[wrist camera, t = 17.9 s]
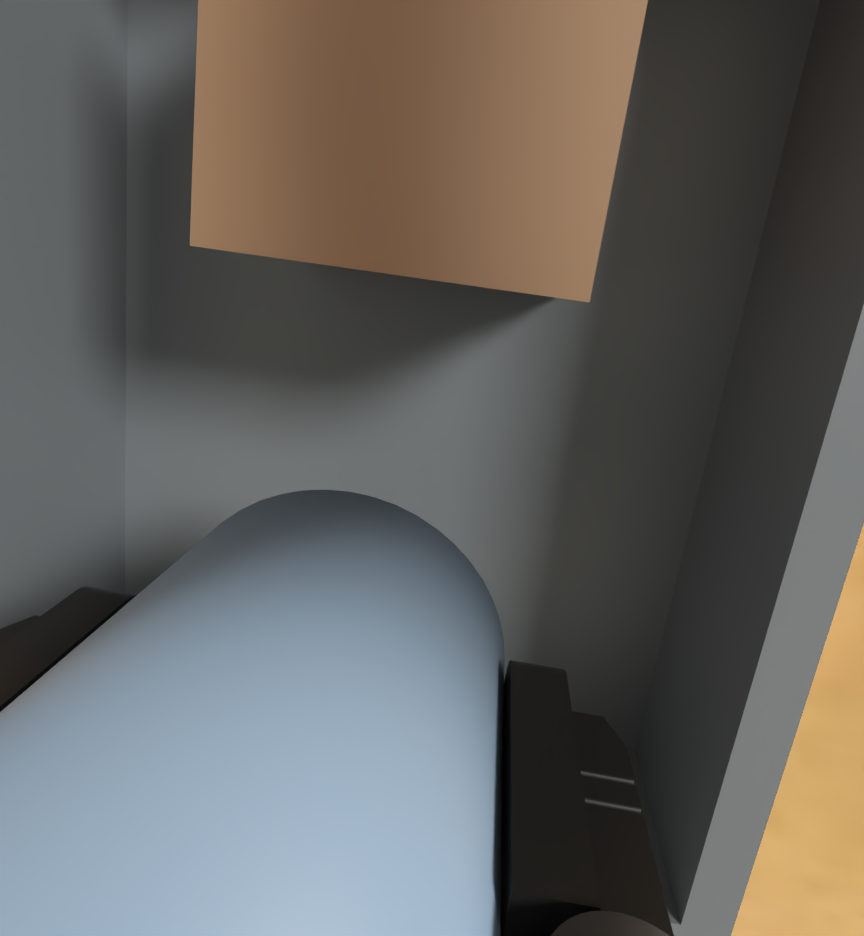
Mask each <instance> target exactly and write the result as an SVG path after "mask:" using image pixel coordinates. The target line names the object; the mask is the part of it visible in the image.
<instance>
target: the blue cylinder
mask: <svg viewBox="0 0 864 936" xmlns="http://www.w3.org/2000/svg"><path fill="white" fill-rule="evenodd" d="M504 680H505V654H504V639H503V633H502V628H501V623H500V619H499V616H498V613H497V610H496V607H495V604H494V601H493V599H492V597H491V595H490V593H489V591H488V589H487V587H486V585H485V583H484V581H483V579H482V578H481V576H480V575H479V574H478V572H477V571H476V569H475V568H474V566H473V565H472V563H471V562H470V561H469V560H468V558H467V557H466V556H465V555H464V554H463V553H462V552H461V551H460V549H459V548H458V547H457V546H456V545H455V544H454V543H453V542H452V541H450V540H449V539H448V538H447V537H446V536H445V535H444V534H442V533H441V532H440V531H439V530H438V529H436V528H435V527H433V526H432V525H430V524H429V523H427V522H426V521H424V520H423V519H422V518H420V517H419V516H417V515H415V514H413V513H411V512H409V511H407V510H405V509H403V508H401V507H399V506H397V505H395V504H392V503H389V502H386V501H383V500H381V499H378V498H375V497H372V496H367V495H363V494H358V493H354V492H348V491H337V490H303V491H297V492H291V493H285V494H280V495H277V496H273V497H270V498H267V499H264V500H260V501H258V502H256V503H254V504H252V505H250V506H248V507H246V508H243V509H241V510H240V511H238V512H237V513H235V514H234V515H232V516H230V517H229V518H227V519H226V520H224V521H223V522H222V523H221V524H219V525H218V526H217V527H216V528H215V529H214V530H212V531H211V532H210V533H209V534H208V535H207V536H205V537H204V538H203V539H202V540H201V541H200V542H198V543H197V544H196V545H195V546H194V547H193V548H191V549H190V550H189V551H188V552H187V553H186V554H184V555H183V556H182V557H181V558H180V559H179V560H177V561H176V562H175V563H174V564H173V565H172V566H170V567H169V568H168V569H167V570H166V571H165V572H163V573H162V574H161V575H160V576H159V577H158V578H156V579H155V580H154V581H153V582H152V583H151V584H149V585H148V586H147V587H146V588H145V589H144V590H142V591H141V592H140V593H139V594H138V595H137V596H135V597H134V598H133V599H132V600H131V601H130V602H128V603H127V604H126V605H125V606H124V607H122V608H121V609H120V610H119V611H118V612H117V613H115V614H114V615H113V616H112V617H111V618H110V619H108V620H107V621H106V622H105V623H104V624H103V625H101V626H100V627H99V628H98V629H97V630H96V631H94V632H93V633H92V634H91V635H90V636H89V637H87V638H86V639H85V640H84V641H83V642H82V643H80V644H79V645H78V646H77V647H76V648H75V649H73V650H72V651H71V652H70V653H69V654H68V655H66V656H65V657H64V658H63V659H62V660H61V661H59V662H58V663H57V664H56V665H55V666H54V667H52V668H51V669H50V670H49V671H48V672H47V673H45V674H44V675H43V676H42V677H41V678H40V679H38V680H37V681H36V682H35V683H34V684H33V685H31V686H30V687H29V688H28V689H27V690H25V691H24V692H23V693H22V694H21V695H20V696H18V697H17V698H16V699H15V700H14V701H13V702H11V703H10V704H9V705H8V706H7V707H6V708H4V709H3V710H2V711H1V712H0V936H501V876H502V795H503V714H504Z"/></svg>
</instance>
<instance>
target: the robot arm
mask: <svg viewBox="0 0 864 936" xmlns="http://www.w3.org/2000/svg"><path fill="white" fill-rule="evenodd" d="M135 596H137V595H135V594H129V593H123V592H118V591H112V590H106V589H100V588H94V587H89V586H84V587H81V588H79V589H78V590H76V591H75V592H73V593H72V594H70V595H69V596H68V597H66V598H65V599H64V600H62V601H61V602H59V603H58V604H57V605H55V606H54V607H52V608H51V609H50V610H48V611H47V612H46V613H44V614H43V615H41V616H36V615H35V616H32V617H29V618H27V619H24V620H22V621H19V622H17V623H14V624H11V625H9V626H6V627H4V628H1V629H0V712H1V711H2V710H3V709H4V708H6V707H7V706H8V705H9V704H10V703H11V702H13V701H14V700H15V699H16V698H17V697H18V696H20V695H21V694H22V693H23V692H24V691H25V690H27V689H28V688H29V687H30V686H31V685H33V684H34V683H35V682H36V681H37V680H38V679H40V678H41V677H42V676H43V675H44V674H45V673H47V672H48V671H49V670H50V669H51V668H52V667H54V666H55V665H56V664H57V663H58V662H59V661H61V660H62V659H63V658H64V657H65V656H66V655H68V654H69V653H70V652H71V651H72V650H73V649H75V648H76V647H77V646H78V645H79V644H80V643H82V642H83V641H84V640H85V639H86V638H87V637H89V636H90V635H91V634H92V633H93V632H94V631H96V630H97V629H98V628H99V627H100V626H101V625H103V624H104V623H105V622H106V621H107V620H108V619H110V618H111V617H112V616H113V615H114V614H115V613H117V612H118V611H119V610H120V609H121V608H122V607H124V606H125V605H126V604H127V603H128V602H130V601H131V600H132V599H133V598H134V597H135ZM634 780H635V779H634V775H633V771H632V767H631V763H630V759H629V755H628V751H627V747H626V745H625V744H624V743H623V742H622V740H621V739H620V738H619V736H618V735H617V734H616V733H615V731H614V730H613V729H612V728H611V726H610V725H609V724H608V722H607V721H606V720H605V719H604V717H603V716H597V715H591V714H586V713H580V712H575V711H572V708H571V701H570V694H569V687H568V680H567V674H566V671H565V670H564V669H559V668H553V667H547V666H541V665H535V664H530V663H524V662H518V661H512V660H509V663H508V666H507V670H506V675H505V680H504V714H503V795H502V876H501V936H674V934H673V931H672V927H671V923H670V919H669V915H668V911H667V907H666V903H665V899H664V895H663V891H662V887H661V883H660V879H659V875H658V871H657V867H656V863H655V859H654V855H653V851H652V847H651V843H650V839H649V835H648V831H647V827H646V823H645V819H644V815H641V808H642V807H641V803H640V799H639V795H638V791H637V787H636V786H634Z"/></svg>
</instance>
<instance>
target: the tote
mask: <svg viewBox="0 0 864 936" xmlns="http://www.w3.org/2000/svg"><path fill="white" fill-rule="evenodd" d="M197 23H198V0H0V629H1V628H4V627H6V626H9V625H11V624H14V623H17V622H19V621H22V620H24V619H27V618H29V617H32V616H35V615H36V616H41V615H43V614H44V613H46V612H47V611H48V610H50V609H51V608H52V607H54V606H55V605H57V604H58V603H59V602H61V601H62V600H64V599H65V598H66V597H68V596H69V595H70V594H72V593H73V592H75V591H76V590H78V589H79V588H81V587H84V586H89V587H94V588H100V589H106V590H112V591H118V592H123V593H129V594H135V595H138V594H139V593H140V592H141V591H142V590H144V589H145V588H146V587H147V586H148V585H149V584H151V583H152V582H153V581H154V580H155V579H156V578H158V577H159V576H160V575H161V574H162V573H163V572H165V571H166V570H167V569H168V568H169V567H170V566H172V565H173V564H174V563H175V562H176V561H177V560H179V559H180V558H181V557H182V556H183V555H184V554H186V553H187V552H188V551H189V550H190V549H191V548H193V547H194V546H195V545H196V544H197V543H198V542H200V541H201V540H202V539H203V538H204V537H205V536H207V535H208V534H209V533H210V532H211V531H212V530H214V529H215V528H216V527H217V526H218V525H219V524H221V523H222V522H223V521H224V520H226V519H227V518H229V517H230V516H232V515H234V514H235V513H237V512H238V511H240V510H241V509H243V508H246V507H248V506H250V505H252V504H254V503H256V502H258V501H260V500H264V499H267V498H270V497H273V496H277V495H280V494H285V493H291V492H297V491H303V490H337V491H348V492H354V493H358V494H363V495H367V496H372V497H375V498H378V499H381V500H383V501H386V502H389V503H392V504H395V505H397V506H399V507H401V508H403V509H405V510H407V511H409V512H411V513H413V514H415V515H417V516H419V517H420V518H422V519H423V520H424V521H426V522H427V523H429V524H430V525H432V526H433V527H435V528H436V529H438V530H439V531H440V532H441V533H442V534H444V535H445V536H446V537H447V538H448V539H449V540H450V541H452V542H453V543H454V544H455V545H456V546H457V547H458V548H459V549H460V551H461V552H462V553H463V554H464V555H465V556H466V557H467V558H468V560H469V561H470V562H471V563H472V565H473V566H474V568H475V569H476V571H477V572H478V574H479V575H480V576H481V578H482V579H483V581H484V583H485V585H486V587H487V589H488V591H489V593H490V595H491V597H492V599H493V601H494V604H495V607H496V610H497V613H498V616H499V619H500V623H501V628H502V633H503V639H504V654H505V675H506V670H507V666H508V663H509V660H512V661H518V662H524V663H530V664H535V665H541V666H547V667H553V668H559V669H564V670H565V671H566V674H567V680H568V687H569V694H570V701H571V708H572V711H575V712H580V713H586V714H591V715H597V716H603V717H604V719H605V720H606V721H607V722H608V724H609V725H610V726H611V728H612V729H613V730H614V731H615V733H616V734H617V735H618V736H619V738H620V739H621V740H622V742H623V743H624V744H625V745H626V747H627V751H628V755H629V759H630V763H631V767H632V771H633V775H634V779H635V780H634V786H636V787H637V791H638V795H639V799H640V803H641V807H642V808H641V815H644V819H645V823H646V827H647V831H648V835H649V839H650V843H651V847H652V851H653V855H654V859H655V863H656V867H657V871H658V875H659V879H660V883H661V887H662V891H663V895H664V899H665V903H666V907H667V911H668V915H669V919H670V923H671V927H672V931H673V934H674V936H731V933H732V930H733V927H734V924H735V920H736V917H737V914H738V911H739V908H740V905H741V902H742V899H743V896H744V893H745V889H746V886H747V883H748V880H749V877H750V874H751V871H752V868H753V865H754V861H755V858H756V855H757V852H758V849H759V846H760V843H761V840H762V837H763V834H764V830H765V827H766V824H767V821H768V818H769V815H770V812H771V809H772V806H773V803H774V799H775V796H776V793H777V790H778V787H779V784H780V781H781V778H782V775H783V771H784V768H785V765H786V762H787V759H788V756H789V753H790V750H791V747H792V744H793V740H794V737H795V734H796V731H797V728H798V725H799V722H800V719H801V716H802V713H803V709H804V706H805V703H806V700H807V697H808V694H809V691H810V688H811V685H812V681H813V678H814V675H815V672H816V669H817V666H818V663H819V660H820V657H821V654H822V650H823V647H824V644H825V641H826V638H827V635H828V632H829V629H830V626H831V623H832V619H833V616H834V613H835V610H836V607H837V604H838V601H839V598H840V595H841V591H842V588H843V585H844V582H845V579H846V576H847V573H848V570H849V567H850V564H851V560H852V557H853V554H854V551H855V548H856V545H857V542H858V539H859V536H860V533H861V529H862V526H863V523H864V0H648V3H647V8H646V13H645V19H644V24H643V29H642V34H641V39H640V44H639V50H638V55H637V60H636V65H635V70H634V75H633V81H632V86H631V91H630V96H629V101H628V106H627V112H626V117H625V122H624V127H623V132H622V137H621V143H620V148H619V153H618V158H617V163H616V168H615V174H614V179H613V184H612V189H611V194H610V199H609V205H608V210H607V215H606V220H605V225H604V231H603V236H602V241H601V246H600V251H599V256H598V262H597V267H596V272H595V277H594V282H593V287H592V293H591V298H590V302H583V301H576V300H569V299H562V298H555V297H547V296H540V295H533V294H526V293H519V292H512V291H505V290H498V289H491V288H484V287H477V286H470V285H463V284H456V283H449V282H442V281H435V280H428V279H421V278H414V277H407V276H400V275H392V274H385V273H378V272H371V271H364V270H357V269H350V268H343V267H336V266H329V265H322V264H315V263H308V262H301V261H294V260H287V259H280V258H273V257H266V256H259V255H252V254H244V253H237V252H230V251H223V250H216V249H209V248H202V247H195V246H190V221H191V193H192V164H193V136H194V108H195V79H196V51H197Z"/></svg>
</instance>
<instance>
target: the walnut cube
mask: <svg viewBox="0 0 864 936" xmlns="http://www.w3.org/2000/svg"><path fill="white" fill-rule="evenodd" d="M647 3H648V0H198V23H197V51H196V79H195V108H194V136H193V164H192V193H191V221H190V246H195V247H202V248H209V249H216V250H223V251H230V252H237V253H244V254H252V255H259V256H266V257H273V258H280V259H287V260H294V261H301V262H308V263H315V264H322V265H329V266H336V267H343V268H350V269H357V270H364V271H371V272H378V273H385V274H392V275H400V276H407V277H414V278H421V279H428V280H435V281H442V282H449V283H456V284H463V285H470V286H477V287H484V288H491V289H498V290H505V291H512V292H519V293H526V294H533V295H540V296H547V297H555V298H562V299H569V300H576V301H583V302H590V298H591V293H592V287H593V282H594V277H595V272H596V267H597V262H598V256H599V251H600V246H601V241H602V236H603V231H604V225H605V220H606V215H607V210H608V205H609V199H610V194H611V189H612V184H613V179H614V174H615V168H616V163H617V158H618V153H619V148H620V143H621V137H622V132H623V127H624V122H625V117H626V112H627V106H628V101H629V96H630V91H631V86H632V81H633V75H634V70H635V65H636V60H637V55H638V50H639V44H640V39H641V34H642V29H643V24H644V19H645V13H646V8H647Z"/></svg>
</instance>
